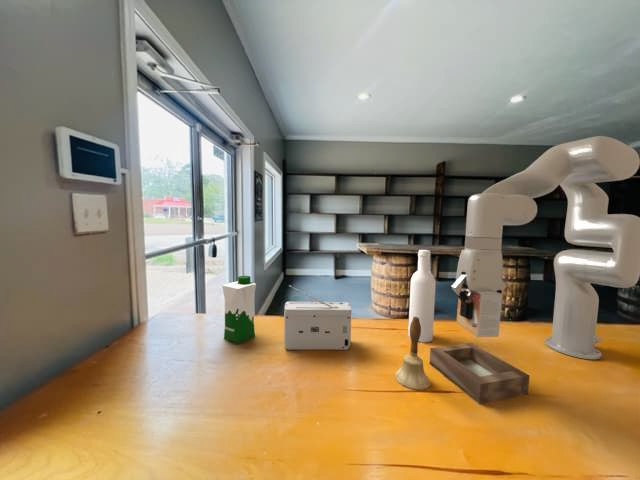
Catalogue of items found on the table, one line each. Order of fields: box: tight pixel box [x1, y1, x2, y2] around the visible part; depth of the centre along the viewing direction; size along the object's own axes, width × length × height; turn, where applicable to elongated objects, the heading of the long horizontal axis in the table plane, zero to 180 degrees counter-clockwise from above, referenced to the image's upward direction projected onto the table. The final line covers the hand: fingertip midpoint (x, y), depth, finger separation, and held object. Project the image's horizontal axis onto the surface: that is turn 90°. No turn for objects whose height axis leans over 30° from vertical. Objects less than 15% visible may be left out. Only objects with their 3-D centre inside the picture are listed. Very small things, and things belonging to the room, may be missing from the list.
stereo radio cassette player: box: [283, 284, 352, 351], centre depth 79 cm, size 21×8×20 cm, turn 92°
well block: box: [429, 342, 530, 405], centre depth 64 cm, size 14×16×4 cm
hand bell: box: [394, 317, 431, 391], centre depth 63 cm, size 8×8×16 cm
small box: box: [455, 288, 503, 338], centre depth 63 cm, size 8×6×10 cm
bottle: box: [407, 249, 436, 343], centre depth 86 cm, size 8×8×30 cm
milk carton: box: [222, 275, 257, 345], centre depth 83 cm, size 9×9×20 cm
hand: (477, 315), depth 63 cm, fingers closed on small box, 6 cm apart
